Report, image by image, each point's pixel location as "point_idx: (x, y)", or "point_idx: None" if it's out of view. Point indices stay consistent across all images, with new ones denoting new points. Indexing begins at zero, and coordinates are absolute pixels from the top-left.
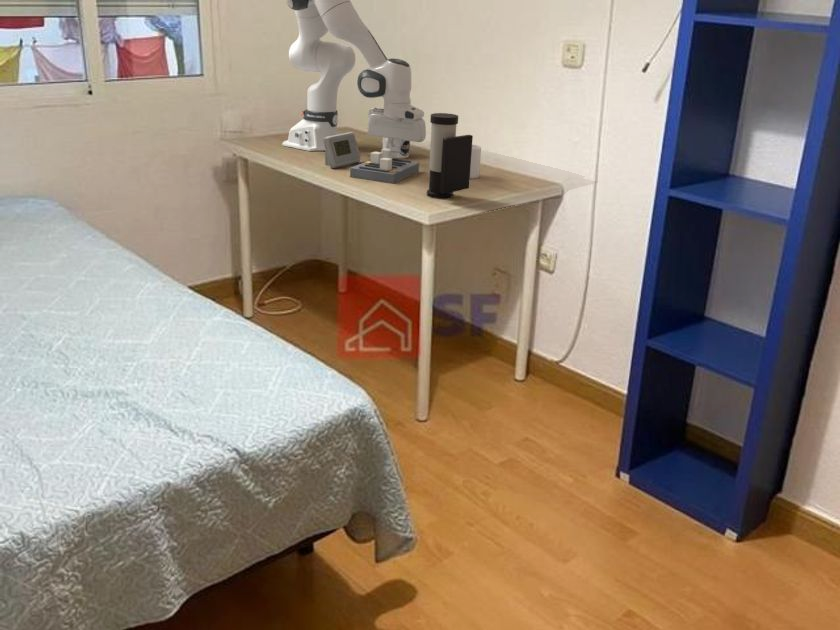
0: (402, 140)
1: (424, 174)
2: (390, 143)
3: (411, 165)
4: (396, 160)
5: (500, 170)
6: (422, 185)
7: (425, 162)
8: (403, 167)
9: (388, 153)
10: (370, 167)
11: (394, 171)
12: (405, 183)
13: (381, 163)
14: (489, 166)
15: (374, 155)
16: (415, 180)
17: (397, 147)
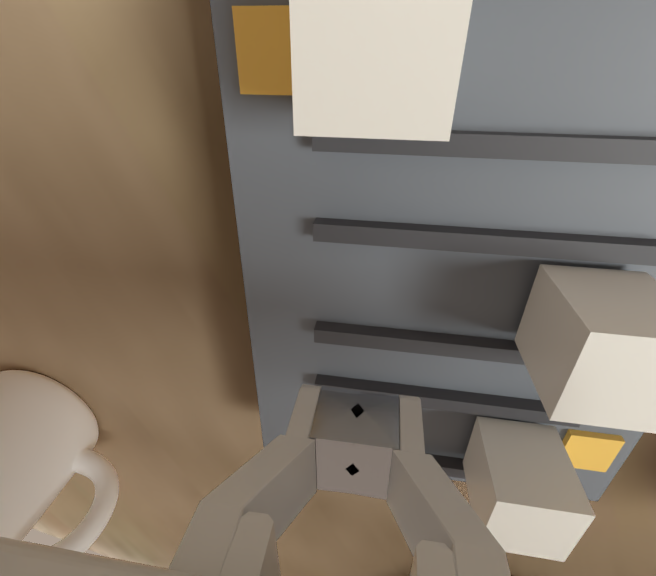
0: (184, 571)
1: (218, 364)
2: (436, 504)
3: (268, 379)
4: None
5: (44, 518)
6: (18, 44)
7: (340, 549)
8: (284, 295)
9: (493, 475)
10: (620, 109)
11: (244, 21)
12: (157, 20)
13: None
14: (110, 549)
15: (649, 321)
16: (164, 186)
17: (303, 437)
